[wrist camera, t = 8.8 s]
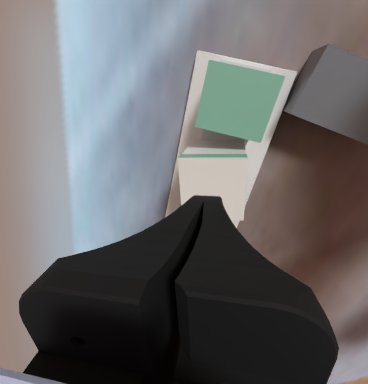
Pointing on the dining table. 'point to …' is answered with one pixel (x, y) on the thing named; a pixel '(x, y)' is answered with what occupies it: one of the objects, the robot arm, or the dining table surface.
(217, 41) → the dining table surface
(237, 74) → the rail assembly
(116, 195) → the dining table surface
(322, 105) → the relay
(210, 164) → the block
